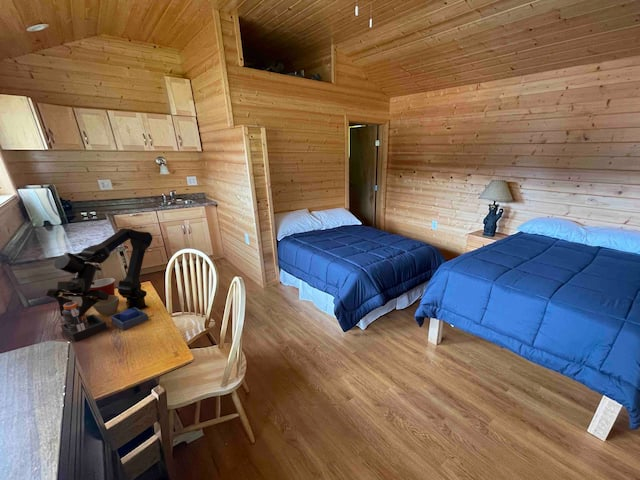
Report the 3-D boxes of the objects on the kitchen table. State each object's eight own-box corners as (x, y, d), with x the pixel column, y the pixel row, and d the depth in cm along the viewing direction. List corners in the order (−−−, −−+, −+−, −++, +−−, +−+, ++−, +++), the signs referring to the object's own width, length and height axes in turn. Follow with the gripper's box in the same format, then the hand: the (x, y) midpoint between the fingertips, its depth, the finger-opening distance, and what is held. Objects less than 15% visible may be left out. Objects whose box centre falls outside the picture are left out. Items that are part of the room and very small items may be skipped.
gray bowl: (127, 311, 145) (123, 298, 142) (103, 320, 136) (99, 307, 134) (113, 306, 148) (110, 293, 146) (90, 315, 140) (86, 301, 137)
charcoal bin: (94, 320, 136) (92, 314, 135) (107, 328, 131) (105, 322, 130) (62, 332, 127) (60, 325, 125) (75, 341, 122) (72, 334, 121)
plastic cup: (107, 296, 156) (101, 275, 151) (126, 299, 155) (120, 278, 150) (86, 306, 146) (79, 284, 141) (106, 309, 145) (100, 287, 140)
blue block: (130, 317, 140) (128, 308, 138) (138, 319, 139) (136, 310, 137) (121, 322, 136) (119, 313, 134) (129, 324, 135) (127, 315, 133)
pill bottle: (89, 329, 118) (80, 304, 113) (69, 334, 114) (59, 309, 110) (88, 322, 122) (80, 298, 117) (69, 327, 118) (59, 302, 114)
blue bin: (136, 313, 144) (135, 307, 143) (148, 320, 140) (147, 313, 138) (111, 322, 135) (110, 316, 134) (123, 330, 131) (122, 323, 130)
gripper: (40, 270, 111) (24, 311, 106) (95, 271, 113) (81, 312, 108) (64, 279, 122) (51, 317, 116) (114, 280, 124) (103, 318, 118)
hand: (71, 316), depth 114 cm, fingers closed on pill bottle, 6 cm apart
